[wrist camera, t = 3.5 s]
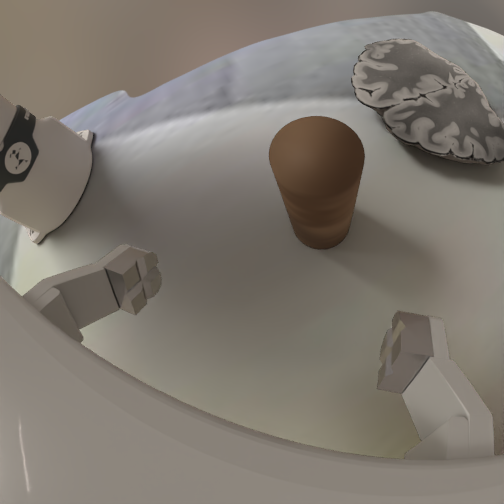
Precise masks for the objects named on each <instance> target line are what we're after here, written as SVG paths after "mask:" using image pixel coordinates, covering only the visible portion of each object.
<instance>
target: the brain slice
mask: <svg viewBox="0 0 504 504" xmlns="http://www.w3.org/2000/svg"><path fill="white" fill-rule="evenodd" d="M365 49H366V50H365V51H363V52H362V54H361V55H359V56H358V61H359V62H358V63H356V64H355V65H354V69H353V72H354V76H353V77H352V78H351V83H352V86H353V87H354V88H355V96H356V97H357V99H358V101H360V102H361V103H362V104H363V105H366V106H368V107H370V108H372V109H374V110H375V111H377V113H378V114H380V115H381V116H383V121H384V123H385V126H386V128H387V130H388V131H389V132H390V133H391V134H392V135H393V136H394V137H395V138H396V139H398V140H400V141H401V142H403V143H404V144H407V145H414V146H416V147H417V148H419V149H421V150H423V151H425V152H427V153H430V154H435V155H438V156H440V157H442V158H446V159H450V160H454V161H457V162H461V163H479V164H483V165H490V164H493V163H495V162H503V161H504V123H503V122H502V121H501V120H500V119H499V118H498V116H497V115H496V114H495V112H494V111H493V110H492V109H491V107H490V105H489V103H488V100H487V98H486V97H485V95H484V94H483V92H482V89H481V88H480V86H479V85H478V83H477V82H476V81H474V80H473V79H471V78H470V76H469V75H468V74H467V73H466V72H465V71H464V70H462V69H461V68H460V67H459V66H457V65H456V64H454V63H452V62H450V61H448V60H447V59H445V58H443V57H440V56H439V55H437V54H435V53H433V52H432V51H431V50H430V49H428V48H427V47H425V46H423V45H422V44H420V43H419V42H416V41H414V40H411V39H391V40H386V41H380V42H375V43H372V44H368V45H366V46H365Z"/></svg>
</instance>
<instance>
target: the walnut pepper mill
mask: <svg viewBox="0 0 504 504" xmlns="http://www.w3.org/2000/svg"><path fill="white" fill-rule="evenodd" d="M364 159H365V154H364V148H363V145H362V142H361V140H360V139H359V137H358V136H357V134H356V133H355V132H354V131H353V130H352V129H351V128H350V127H348V126H347V125H346V124H344V123H342V122H340V121H338V120H335V119H332V118H328V117H322V116H310V117H304V118H300V119H297V120H295V121H292V122H290V123H289V124H287V125H286V126H284V127H283V128H282V129H281V130H280V131H279V132H278V133H277V134H276V135H275V137H274V139H273V140H272V143H271V145H270V149H269V160H270V165H271V167H272V170H273V173H274V175H275V178H276V181H277V184H278V187H279V189H280V192H281V195H282V198H283V201H284V204H285V206H286V209H287V212H288V215H289V218H290V221H291V224H292V227H293V230H294V232H295V234H296V236H297V237H298V239H299V240H300V241H301V242H302V243H303V244H305V245H307V246H309V247H311V248H314V249H328V248H332V247H334V246H336V245H338V244H339V243H340V242H341V241H342V240H343V239H344V238H345V237H346V235H347V233H348V231H349V227H350V223H351V219H352V215H353V211H354V207H355V202H356V198H357V194H358V189H359V185H360V180H361V175H362V170H363V165H364Z"/></svg>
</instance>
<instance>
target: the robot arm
mask: <svg viewBox="0 0 504 504" xmlns="http://www.w3.org/2000/svg"><path fill="white" fill-rule="evenodd" d="M92 139H93V132H91V131H89V130H84V131H80V132H74V131H73V130H71V129H70V128H69V127H67V126H66V125H64V124H63V123H61V122H60V121H59V120H57V119H56V118H54V117H52V116H50V117H46V118H43V119H36V117H35V116H34V115H32V114H31V113H30V112H29V110H27V109H26V108H23V107H21V106H20V105H17V106H15V105H13V104H12V103H11V102H9V101H8V100H7V99H6V98H4V97H3V96H2V95H1V94H0V214H1V215H3V216H4V217H6V218H8V219H10V220H12V221H14V222H16V223H18V224H21V225H23V226H25V228H26V230H27V233H28V235H29V237H30V239H31V241H32V242H34V243H36V244H38V243H39V242H40V241H41V240H42V239H43V238H44V236H45V235H46V234H47V233H49V232H50V231H52V230H54V229H56V228H57V227H59V226H60V225H61V224H62V223H63V222H64V221H65V220H66V219H67V217H68V216H69V215H70V213H71V212H72V211H73V209H74V208H75V206H76V204H77V203H78V201H79V199H80V197H81V195H82V193H83V191H84V189H85V186H86V184H87V181H88V178H89V175H90V171H91V166H92V152H91V143H92ZM157 264H158V259H157V255H156V254H155V253H153V252H151V251H147V250H144V249H141V248H137V247H133V246H130V245H127V244H121V245H119V246H118V247H117V248H115V249H114V250H112V251H111V252H110V253H108V254H107V255H106V256H104V257H103V258H102V259H100V260H99V261H98V262H97V263H95V264H89V265H86V266H82V267H79V268H76V269H73V270H70V271H67V272H64V273H60V274H57V275H54V276H51V277H48V278H45V279H43V280H42V281H40V282H39V283H38V284H37V285H35V286H34V287H33V288H32V289H31V290H29V291H28V292H27V293H26V294H25V295H23V296H21V295H20V294H19V293H18V292H16V291H15V290H14V289H13V288H12V287H11V286H10V285H9V284H8V283H7V282H6V281H5V280H4V279H3V278H2V277H1V276H0V504H504V454H502V455H495V456H494V428H493V416H492V414H491V412H490V411H489V409H488V408H487V406H486V405H485V403H484V402H483V400H482V399H481V397H480V396H479V394H478V393H477V391H476V390H475V389H474V387H473V386H472V384H471V383H470V381H469V380H468V379H467V377H466V376H465V375H464V373H463V372H462V370H461V369H460V368H459V366H458V365H457V364H456V362H455V361H454V360H450V356H449V350H448V343H447V337H446V332H445V327H444V322H443V319H442V318H439V317H433V316H424V315H419V314H414V313H409V312H403V311H398V310H397V312H396V313H395V315H394V317H393V319H392V328H390V329H389V330H387V332H386V334H385V337H384V339H383V343H382V346H381V351H380V361H381V362H382V366H381V368H380V370H379V372H378V383H377V389H379V390H384V391H390V392H395V393H401V394H402V397H403V400H404V402H405V404H406V406H407V409H408V411H409V413H410V416H411V418H412V420H413V423H414V425H415V428H416V430H417V433H418V435H419V438H420V440H421V442H420V443H419V444H417V445H416V446H414V447H413V448H412V449H410V450H409V451H408V452H406V453H405V456H404V459H395V458H383V457H374V456H366V455H358V454H352V453H345V452H340V451H334V450H329V449H324V448H319V447H314V446H310V445H306V444H302V443H297V442H294V441H290V440H286V439H282V438H279V437H275V436H272V435H269V434H265V433H262V432H259V431H256V430H253V429H250V428H247V427H244V426H241V425H238V424H235V423H233V422H230V421H227V420H225V419H222V418H219V417H217V416H214V415H212V414H209V413H207V412H205V411H202V410H200V409H198V408H195V407H193V406H191V405H188V404H186V403H184V402H182V401H180V400H178V399H176V398H173V397H171V396H169V395H167V394H165V393H163V392H161V391H159V390H157V389H155V388H153V387H152V386H150V385H148V384H146V383H144V382H142V381H140V380H139V379H137V378H135V377H133V376H131V375H130V374H128V373H126V372H125V371H123V370H121V369H119V368H118V367H116V366H115V365H113V364H111V363H110V362H108V361H106V360H105V359H103V358H102V357H100V356H99V355H97V354H96V353H94V352H93V351H91V350H90V349H88V348H87V347H85V346H84V345H82V344H81V342H82V341H83V336H82V334H81V332H80V330H79V329H81V328H83V327H85V326H87V325H89V324H91V323H93V322H95V321H97V320H99V319H101V318H103V317H105V316H107V315H109V314H111V313H113V312H115V311H117V310H119V308H120V309H122V310H125V311H127V312H129V313H132V314H134V315H137V313H138V312H139V311H140V310H141V309H142V308H143V307H144V306H145V305H146V304H147V299H149V298H151V297H154V296H155V295H156V294H157V293H158V291H159V289H160V287H161V282H162V277H161V273H160V271H159V270H158V268H157V267H156V266H157Z"/></svg>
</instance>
